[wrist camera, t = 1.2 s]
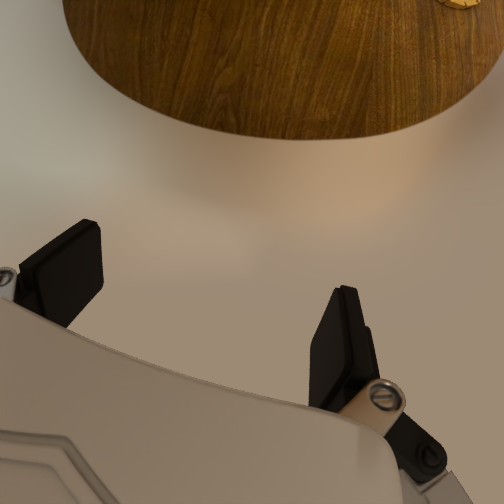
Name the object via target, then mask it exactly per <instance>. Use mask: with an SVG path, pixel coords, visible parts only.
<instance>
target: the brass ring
mask: <svg viewBox="0 0 504 504" xmlns="http://www.w3.org/2000/svg"><path fill="white" fill-rule="evenodd" d="M438 1H439V2H440V3H443V2H444V4H445V5H446V6H449V7H453V8H456V9H460V8H461V9H465V8H469V7H472V6H474V5H476V4H478V3H479V2H480V0H438Z"/></svg>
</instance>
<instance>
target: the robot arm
mask: <svg viewBox="0 0 504 504" xmlns="http://www.w3.org/2000/svg"><path fill="white" fill-rule="evenodd" d="M19 269H20V273H19V274H18V275H17V272H16V271H15V270H14V269H13V268H10V267H2V268H0V504H473V502H472V501H471V499H470V498H469V496H468V495H467V493H466V492H465V490H464V488H463V487H462V485H461V484H460V482H459V481H458V479H457V478H456V476H455V475H454V473H453V472H452V471H450V472H449V473H448V471H447V470H446V465H447V454H446V452H445V450H444V448H443V447H442V445H441V444H440V443H439V442H437V441H436V440H435V439H434V438H433V437H431V436H430V435H429V434H428V433H427V432H426V431H425V430H424V429H422V428H421V427H420V426H419V425H418V424H417V423H416V422H414V421H413V420H412V419H411V418H410V417H409V416H407V415H406V414H405V413H404V412H403V410H404V408H405V406H406V399H405V395H404V394H403V392H402V390H401V389H400V388H399V387H398V386H397V385H396V384H395V383H393V382H391V381H389V380H386V379H380V374H379V369H378V364H377V359H376V354H375V349H374V344H373V340H372V335H371V330H370V328H369V327H368V326H365V323H364V318H363V313H362V309H361V305H360V300H359V296H358V292H357V289H356V288H353V287H349V286H344V285H341V286H340V288H335V289H334V291H333V293H332V296H331V298H330V301H329V303H328V305H327V308H326V310H325V312H324V315H323V317H322V319H321V321H320V323H319V326H318V328H317V330H316V333H315V335H314V337H313V339H312V342H311V346H310V379H309V406H305V405H301V404H296V403H292V402H287V401H283V400H278V399H274V398H269V397H265V396H261V395H256V394H253V393H249V392H245V391H241V390H237V389H233V388H229V387H226V386H222V385H218V384H214V383H211V382H208V381H204V380H201V379H197V378H194V377H191V376H187V375H184V374H181V373H178V372H175V371H172V370H169V369H166V368H163V367H160V366H157V365H155V364H152V363H149V362H146V361H143V360H140V359H138V358H135V357H133V356H130V355H127V354H125V353H122V352H120V351H117V350H115V349H112V348H110V347H107V346H105V345H102V344H100V343H97V342H95V341H93V340H90V339H88V338H86V337H84V336H81V335H79V334H77V333H75V332H73V331H70V330H68V329H66V328H67V327H68V326H69V325H70V323H71V322H72V321H73V320H74V319H75V318H76V316H77V315H78V314H79V313H80V312H81V311H82V310H83V309H84V308H85V306H86V305H87V304H88V303H89V302H90V301H91V299H93V298H94V296H95V295H96V294H97V293H98V292H99V291H100V290H101V289H102V287H103V283H104V278H103V266H102V251H101V230H100V227H99V226H98V224H97V222H95V221H91V220H88V219H83V220H81V221H79V222H78V223H76V224H75V225H73V226H72V227H70V228H69V229H68V230H66V231H65V232H63V233H62V234H60V235H59V236H57V237H56V238H55V239H53V240H52V241H50V242H49V243H48V244H46V245H45V246H43V247H42V248H41V249H39V250H38V251H37V252H35V253H34V254H32V255H31V256H30V257H28V258H27V259H26V260H25V261H23V262H22V263H21V264H19Z"/></svg>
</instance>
